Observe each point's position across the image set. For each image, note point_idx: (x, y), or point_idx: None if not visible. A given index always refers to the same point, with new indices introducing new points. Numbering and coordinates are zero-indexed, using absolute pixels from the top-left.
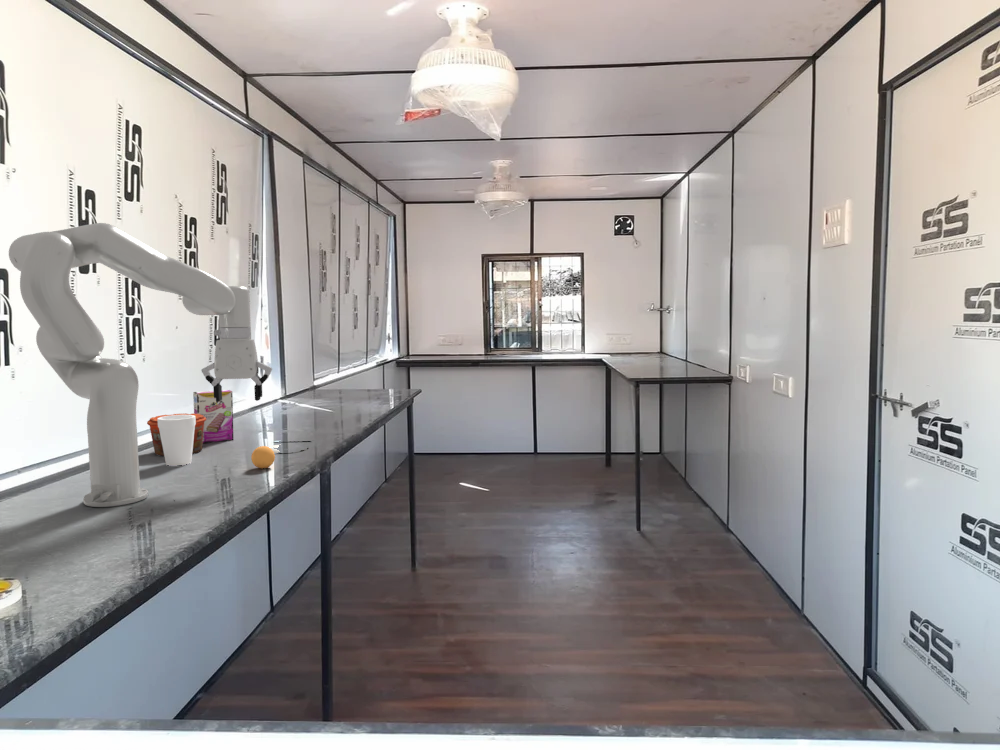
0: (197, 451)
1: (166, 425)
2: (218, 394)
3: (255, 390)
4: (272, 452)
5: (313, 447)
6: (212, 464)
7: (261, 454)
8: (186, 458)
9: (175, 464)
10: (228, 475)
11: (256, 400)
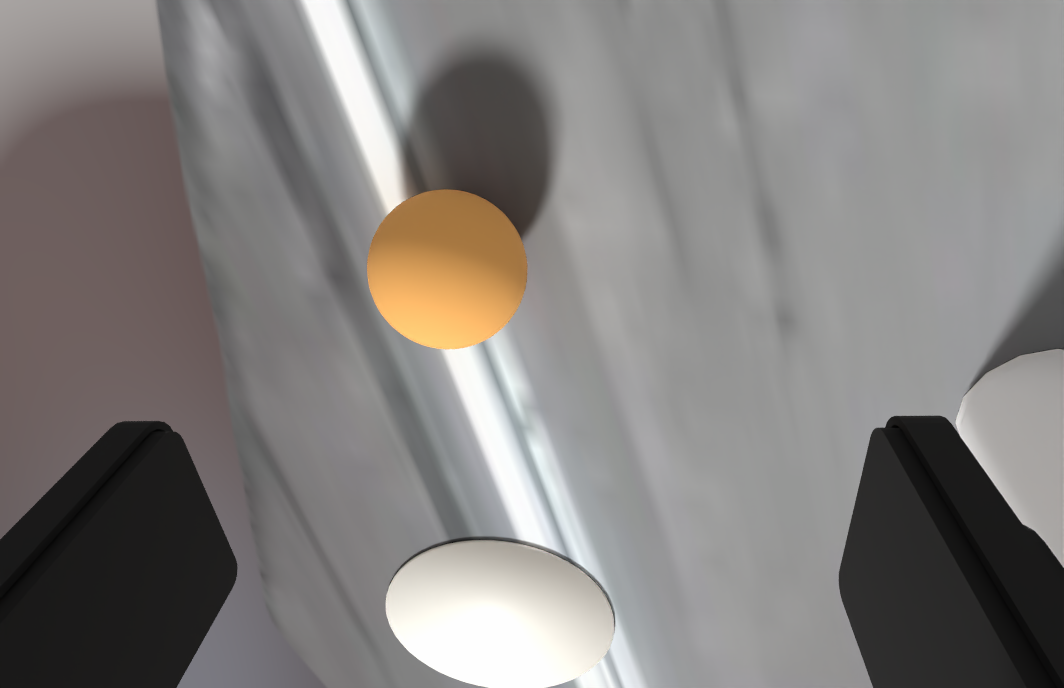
0: None
1: None
2: (942, 529)
3: (12, 573)
4: (369, 273)
5: (374, 631)
6: (815, 368)
7: (425, 217)
8: (1000, 396)
9: (1058, 355)
10: (640, 49)
11: (153, 422)
